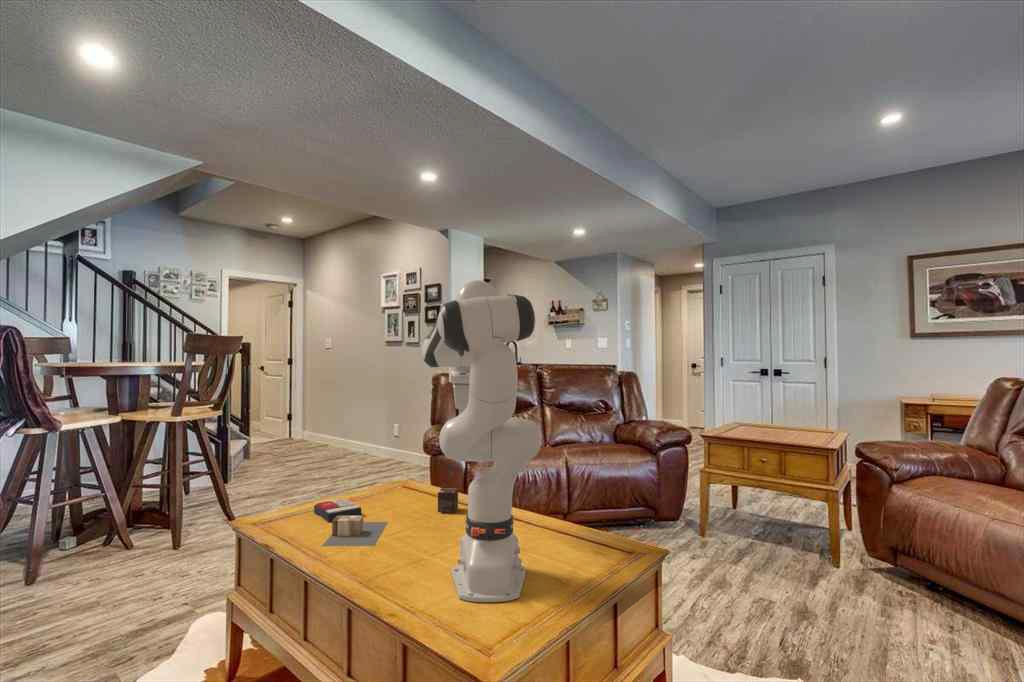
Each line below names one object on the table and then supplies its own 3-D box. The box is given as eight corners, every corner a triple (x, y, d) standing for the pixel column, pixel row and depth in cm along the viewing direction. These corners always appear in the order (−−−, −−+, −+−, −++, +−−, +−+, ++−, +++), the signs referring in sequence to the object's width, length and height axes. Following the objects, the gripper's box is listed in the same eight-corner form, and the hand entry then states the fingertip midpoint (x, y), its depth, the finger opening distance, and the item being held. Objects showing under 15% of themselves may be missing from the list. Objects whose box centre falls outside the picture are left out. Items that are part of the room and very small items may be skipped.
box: (458, 508, 180) (458, 488, 180) (454, 514, 174) (455, 492, 174) (441, 508, 180) (441, 487, 180) (437, 513, 174) (437, 492, 174)
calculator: (345, 497, 180) (361, 505, 169) (345, 509, 180) (361, 518, 168) (313, 502, 174) (328, 511, 162) (313, 515, 173) (328, 525, 161)
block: (359, 520, 150) (332, 520, 150) (359, 535, 150) (332, 535, 150) (363, 515, 155) (336, 515, 155) (363, 530, 155) (336, 530, 154)
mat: (374, 547, 143) (374, 545, 143) (321, 548, 142) (321, 545, 142) (388, 523, 163) (388, 521, 163) (341, 524, 162) (341, 522, 162)
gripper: (454, 375, 170) (453, 416, 170) (451, 378, 150) (450, 424, 150) (473, 375, 171) (472, 416, 170) (472, 378, 150) (471, 425, 150)
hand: (461, 420), depth 160 cm, fingers closed
